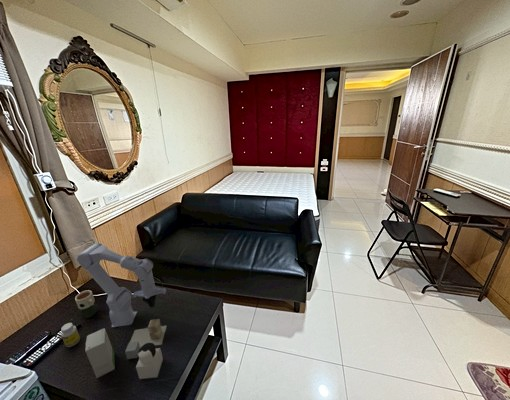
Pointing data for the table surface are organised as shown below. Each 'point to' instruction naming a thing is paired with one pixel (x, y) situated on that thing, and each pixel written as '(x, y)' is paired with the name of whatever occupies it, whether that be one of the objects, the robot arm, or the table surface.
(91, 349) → the skincare box
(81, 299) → the character mug
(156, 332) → the birch block
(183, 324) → the table surface
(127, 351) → the slate block
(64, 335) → the supplement bottle
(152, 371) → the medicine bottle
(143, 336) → the felt mat
